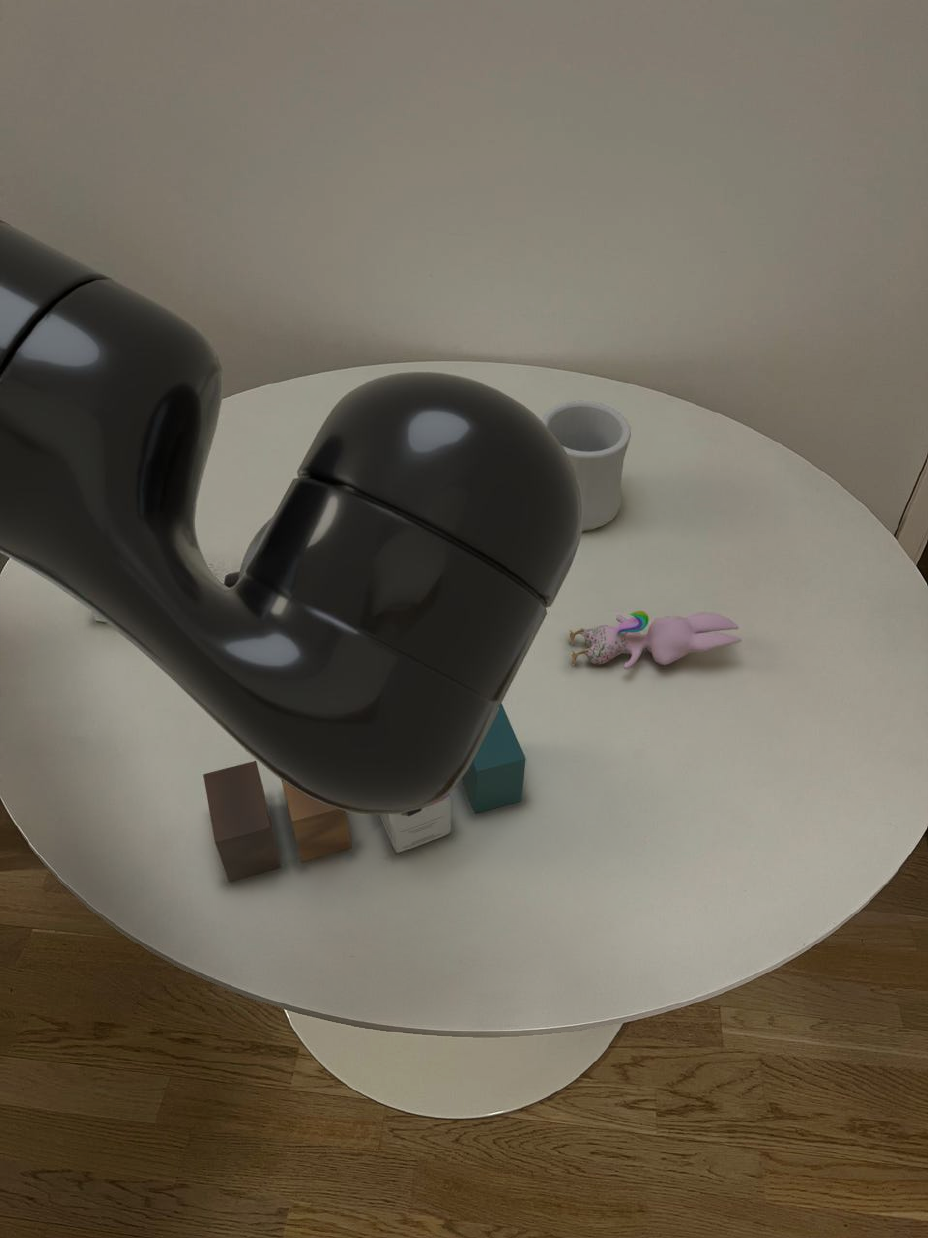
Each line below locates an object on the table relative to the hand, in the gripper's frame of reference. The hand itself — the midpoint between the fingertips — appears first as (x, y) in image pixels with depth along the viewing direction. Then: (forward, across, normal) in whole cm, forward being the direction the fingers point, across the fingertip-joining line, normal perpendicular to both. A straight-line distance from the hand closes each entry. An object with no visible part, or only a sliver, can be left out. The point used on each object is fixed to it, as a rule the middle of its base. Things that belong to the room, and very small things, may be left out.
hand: (304, 590), depth 56 cm
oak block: (+22, +2, +18) cm, 29 cm away
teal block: (+22, -12, +18) cm, 31 cm away
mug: (+44, -31, -3) cm, 53 cm away
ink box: (+22, -6, +19) cm, 29 cm away
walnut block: (+22, +7, +18) cm, 30 cm away
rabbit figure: (+28, -31, +13) cm, 44 cm away
